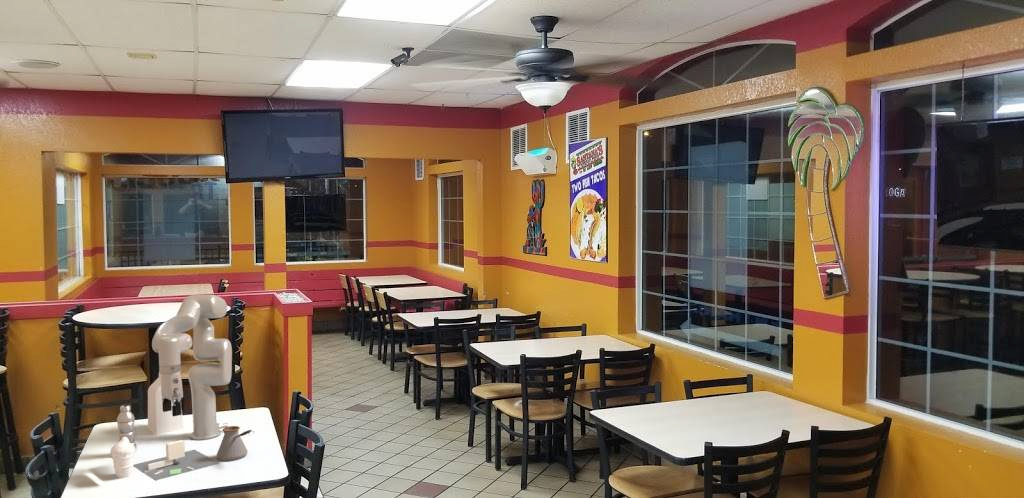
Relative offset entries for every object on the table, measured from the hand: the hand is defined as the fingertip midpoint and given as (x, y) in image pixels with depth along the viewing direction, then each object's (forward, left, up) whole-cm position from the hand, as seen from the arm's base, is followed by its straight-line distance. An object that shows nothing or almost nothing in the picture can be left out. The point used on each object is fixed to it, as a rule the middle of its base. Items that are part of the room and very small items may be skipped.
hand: (172, 413), depth 288 cm
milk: (-17, -55, -22) cm, 62 cm away
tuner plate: (0, +1, -21) cm, 21 cm away
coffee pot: (-19, +14, -22) cm, 32 cm away
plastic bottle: (+7, -31, -22) cm, 38 cm away
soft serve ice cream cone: (+18, -1, -22) cm, 28 cm away
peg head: (+3, +1, -20) cm, 20 cm away
